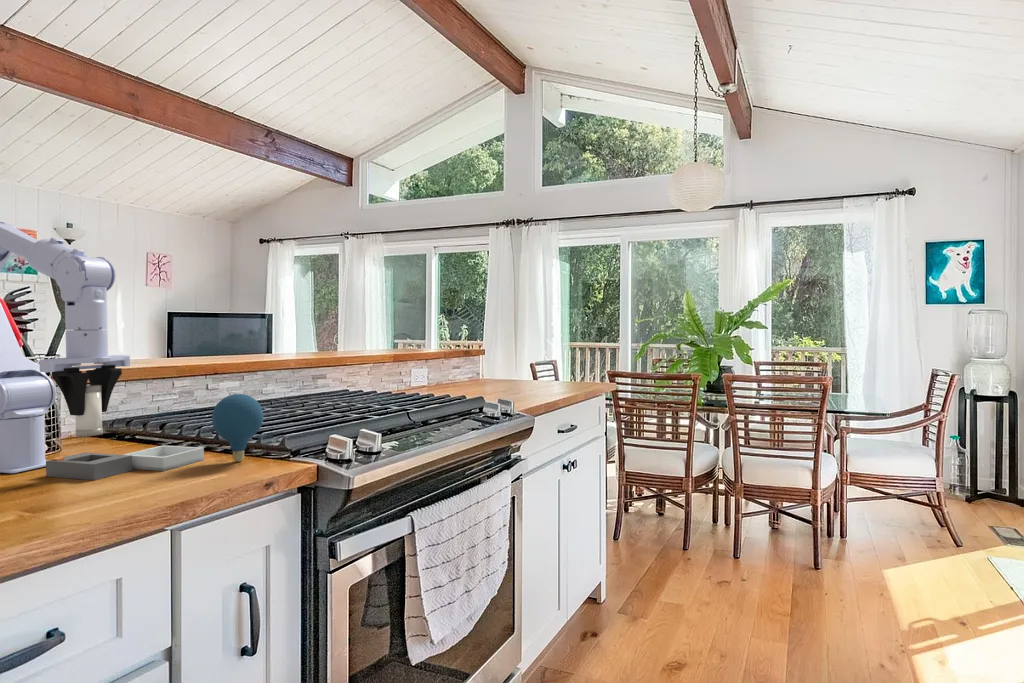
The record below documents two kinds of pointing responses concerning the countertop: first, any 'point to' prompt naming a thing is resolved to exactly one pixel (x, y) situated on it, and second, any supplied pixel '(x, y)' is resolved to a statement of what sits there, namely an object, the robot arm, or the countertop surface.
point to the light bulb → (237, 421)
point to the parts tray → (165, 457)
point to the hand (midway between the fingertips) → (88, 413)
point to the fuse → (91, 413)
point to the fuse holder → (88, 466)
